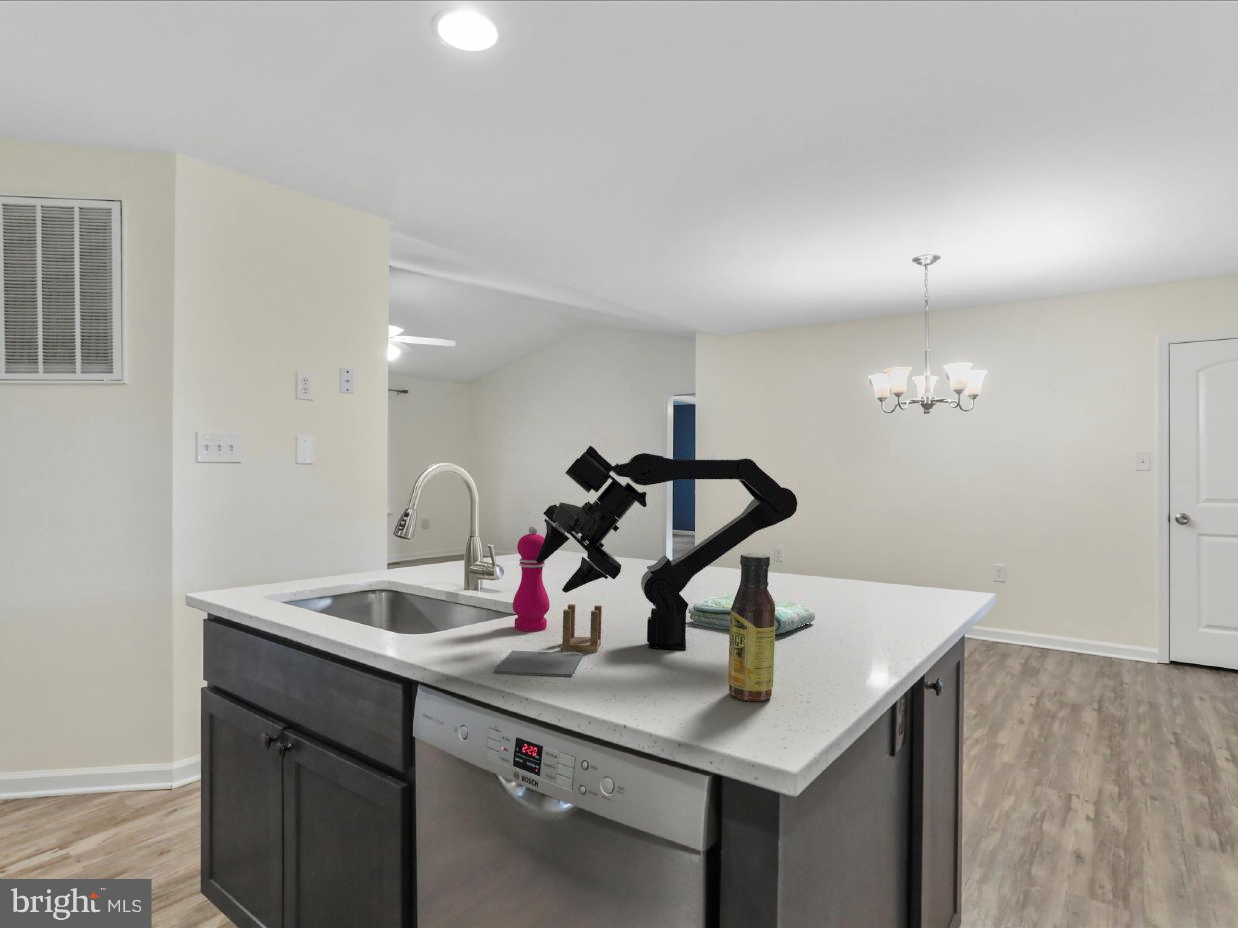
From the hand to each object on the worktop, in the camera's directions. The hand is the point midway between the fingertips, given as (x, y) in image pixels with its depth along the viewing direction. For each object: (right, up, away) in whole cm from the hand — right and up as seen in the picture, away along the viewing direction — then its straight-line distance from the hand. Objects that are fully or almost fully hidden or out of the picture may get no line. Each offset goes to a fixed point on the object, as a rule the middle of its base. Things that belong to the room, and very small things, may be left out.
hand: (550, 576), depth 124 cm
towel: (+40, -14, +21) cm, 47 cm away
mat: (0, -12, -13) cm, 18 cm away
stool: (+6, -12, -2) cm, 14 cm away
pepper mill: (-5, -12, +12) cm, 18 cm away
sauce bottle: (+31, -13, -27) cm, 43 cm away
